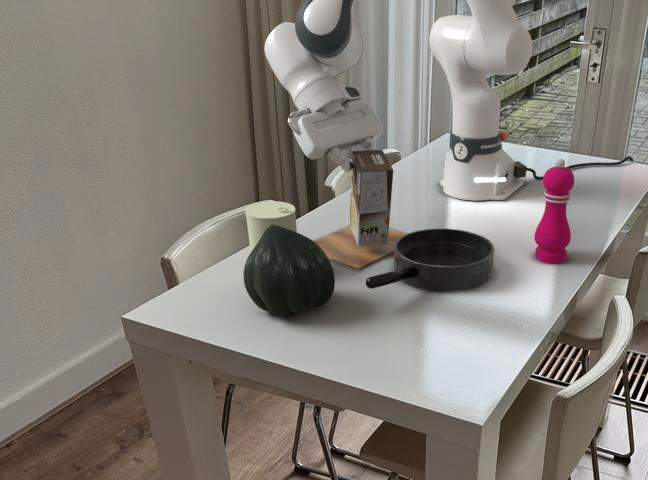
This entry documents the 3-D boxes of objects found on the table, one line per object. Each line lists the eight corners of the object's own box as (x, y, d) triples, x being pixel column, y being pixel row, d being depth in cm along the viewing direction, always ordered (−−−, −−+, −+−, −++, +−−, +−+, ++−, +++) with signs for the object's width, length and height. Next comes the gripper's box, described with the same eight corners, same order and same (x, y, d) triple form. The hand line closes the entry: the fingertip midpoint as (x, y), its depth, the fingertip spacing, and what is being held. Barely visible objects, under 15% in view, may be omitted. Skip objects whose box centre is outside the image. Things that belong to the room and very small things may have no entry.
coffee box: (389, 245, 154) (394, 170, 144) (357, 247, 152) (361, 171, 142) (378, 222, 160) (383, 149, 150) (347, 223, 158) (350, 149, 148)
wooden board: (362, 222, 169) (362, 220, 169) (420, 239, 162) (420, 237, 162) (298, 249, 155) (298, 247, 155) (358, 270, 148) (358, 268, 148)
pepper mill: (547, 248, 160) (557, 151, 149) (575, 258, 156) (588, 159, 145) (525, 256, 156) (533, 158, 145) (552, 267, 152) (564, 166, 141)
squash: (345, 295, 126) (325, 209, 127) (253, 311, 121) (233, 222, 123) (335, 318, 139) (317, 240, 141) (252, 333, 135) (234, 252, 137)
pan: (432, 244, 160) (433, 221, 157) (511, 268, 151) (513, 244, 148) (374, 273, 147) (373, 249, 144) (456, 301, 138) (457, 276, 135)
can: (290, 279, 143) (284, 217, 137) (243, 274, 145) (236, 212, 138) (307, 260, 151) (303, 201, 144) (263, 255, 152) (256, 196, 146)
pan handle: (412, 273, 142) (412, 253, 140) (421, 276, 141) (421, 255, 139) (363, 299, 132) (363, 277, 130) (372, 302, 131) (372, 280, 129)
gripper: (291, 103, 139) (334, 168, 140) (365, 87, 153) (403, 145, 154) (275, 124, 144) (317, 187, 144) (348, 106, 158) (386, 163, 159)
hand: (362, 165), depth 149 cm, fingers closed on coffee box, 6 cm apart
